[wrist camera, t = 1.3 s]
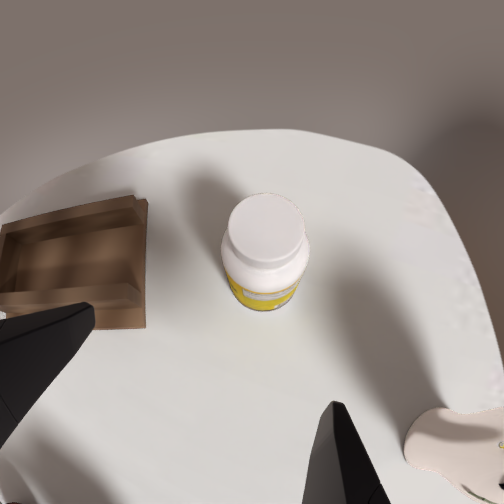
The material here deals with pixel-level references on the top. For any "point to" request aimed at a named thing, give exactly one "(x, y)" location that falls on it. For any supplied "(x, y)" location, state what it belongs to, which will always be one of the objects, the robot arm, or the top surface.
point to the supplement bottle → (265, 251)
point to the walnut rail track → (78, 262)
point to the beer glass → (461, 450)
